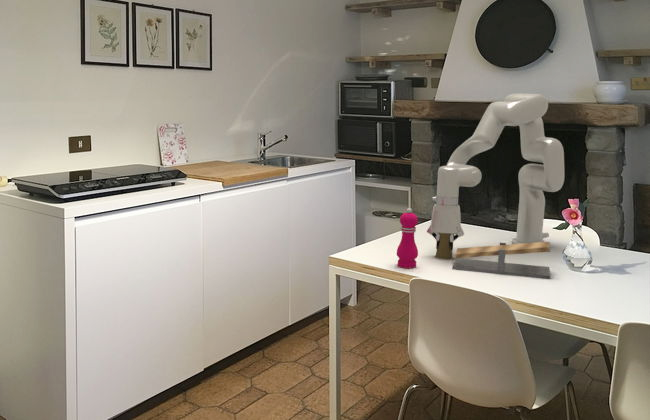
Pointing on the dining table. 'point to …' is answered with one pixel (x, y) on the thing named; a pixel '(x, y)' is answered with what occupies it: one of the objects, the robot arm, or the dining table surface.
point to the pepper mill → (407, 241)
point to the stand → (502, 267)
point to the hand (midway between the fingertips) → (444, 251)
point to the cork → (444, 247)
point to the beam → (508, 249)
